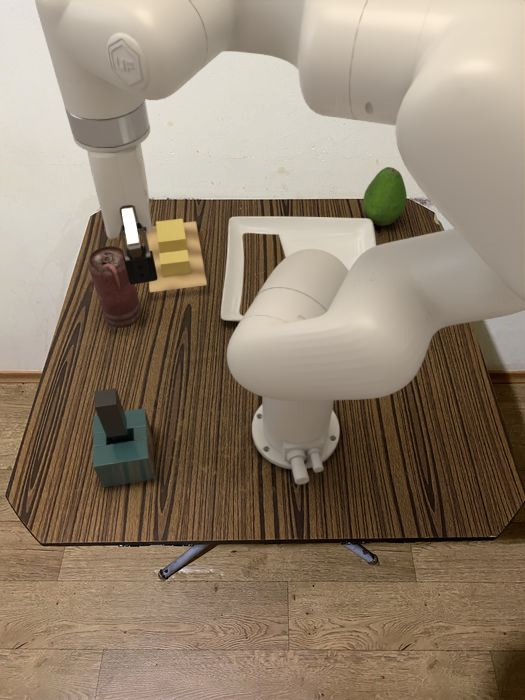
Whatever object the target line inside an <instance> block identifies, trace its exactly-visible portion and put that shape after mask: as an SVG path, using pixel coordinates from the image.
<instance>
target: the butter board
mask: <svg viewBox="0 0 525 700" xmlns="http://www.w3.org/2000/svg"><path fill="white" fill-rule="evenodd" d="M183 224H184V230H185V237H186V244H187V250H188V257H189V264H190V271H191V273H190V274H182V275H174V276H166V277H163V276H162V271H161V265H160V256H159V253H160V250H159V245H158V237H157V228H156V225H151V231H150V232H149V233H148V234H147V232H146V234H147V239H148V244H149V249H150V251H152V252H153V257H154V262H155V267H156V272H157V277H158V279H157V280H156V281H151V282H148V287H149V289H148V290H149V293H156V292H164V291H172V290H179V289H188V288H195V287H202V286H207V285H208V283H207V275H206V270H205V265H204V259H203V254H202V248H201V243H200V237H199V231H198V226H197V221H188V222H187V221H185V222H183Z"/></svg>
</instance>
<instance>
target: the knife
mask: <svg viewBox="0 0 525 700" xmlns="http://www.w3.org/2000/svg"><path fill="white" fill-rule="evenodd" d="M93 395H94V396H93V399H94V400H93V402H94V403H93V404H94V409H95V412H96V416H97V415H98V417H99V419H100V422H101V424H102V427H103V429H104V432H105V434H106V436H107V437H110V438H111V440H112V443H113V444H117V443H123V442H130V441H131V438H130V435H129V433H128V430H127V419H126V416H125V413H124V411H125V410H124V407H123V405H122V401H121V399H120V395H119V393H118V389H117V388H115V387H113V388H107V389H102V390H101V389H100V390H95V391H94V394H93Z"/></svg>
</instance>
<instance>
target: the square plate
mask: <svg viewBox="0 0 525 700" xmlns="http://www.w3.org/2000/svg"><path fill="white" fill-rule="evenodd" d="M227 226H228V227H227V249H226V251H227V253H226V262H225V271H224V272H225V273H224V280H223V289H222V297H221V304H220V318H221V320H223V321H226V322H237V323H240V321H241V320H242V318H243V316H244V315H243V314H241V313H240V309H241V304H242V297H243V285H244V269H245V268H244V267H245V255H244V254H245V253H244V252H245V251H244V241H243V236H244V234H262V235H278V237H279V241H280V244H281V247H282V250H283V254H284V258H286V257H288V256H289V255H291V254H293V253H295V252H297V251H300V250H305V249H318V250H322V251H326V252H328V253H330V254H332V255H334V256H335V257H337V258H338V259H339V260H340V261H341V262H342V263H343V264H344V265H345V266H346V268H347V269H348V271H349V270H350V269H351V267H352V266H353V264H354V263H355V261H356V260H357V259H358V258H359V257H360V255H361V254H362V253H364V252H365V251H366V250H368V249H370V248H372V247H375V246H377V240H376V234H375V226H374V223H373V222H372V220H371V219H369V218H368V217H367V218H366V217H365V218H363V217H329V216H327V217H325V216H320V217H319V216H285V215H284V216H278V215H277V216H276V215H275V216H272V215H271V216H270V215H269V216H268V215H267V216H265V215H263V216H262V215H260V216H259V215H258V216H257V215H256V216H255V215H253V216H250V215H249V216H245V215H244V216H241V215H240V216H232V217H230V218H229V220H228V225H227Z"/></svg>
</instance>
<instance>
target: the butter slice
mask: <svg viewBox="0 0 525 700" xmlns="http://www.w3.org/2000/svg"><path fill="white" fill-rule="evenodd" d="M159 256H160V265H161V271H162V276H163V277H166V276H174V275H182V274H190V273H191V271H190V264H189V257H188V250H182V251H174V252H166V253H159Z"/></svg>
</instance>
